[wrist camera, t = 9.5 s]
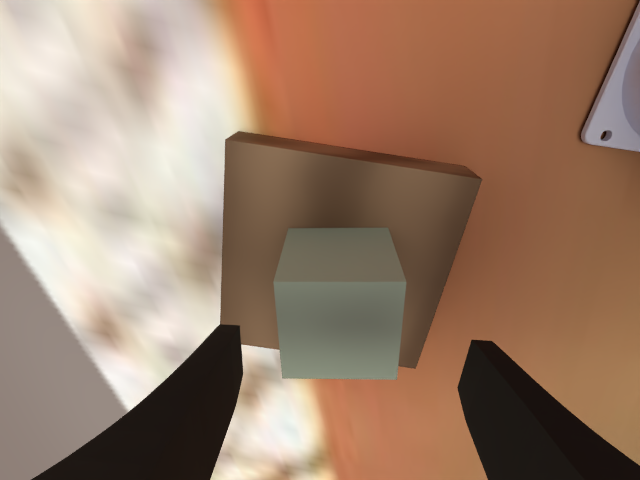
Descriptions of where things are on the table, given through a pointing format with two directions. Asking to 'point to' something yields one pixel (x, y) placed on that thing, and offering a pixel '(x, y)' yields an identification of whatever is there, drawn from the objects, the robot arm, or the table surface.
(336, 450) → the table surface
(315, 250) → the sage wooden cube
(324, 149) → the walnut riser block
